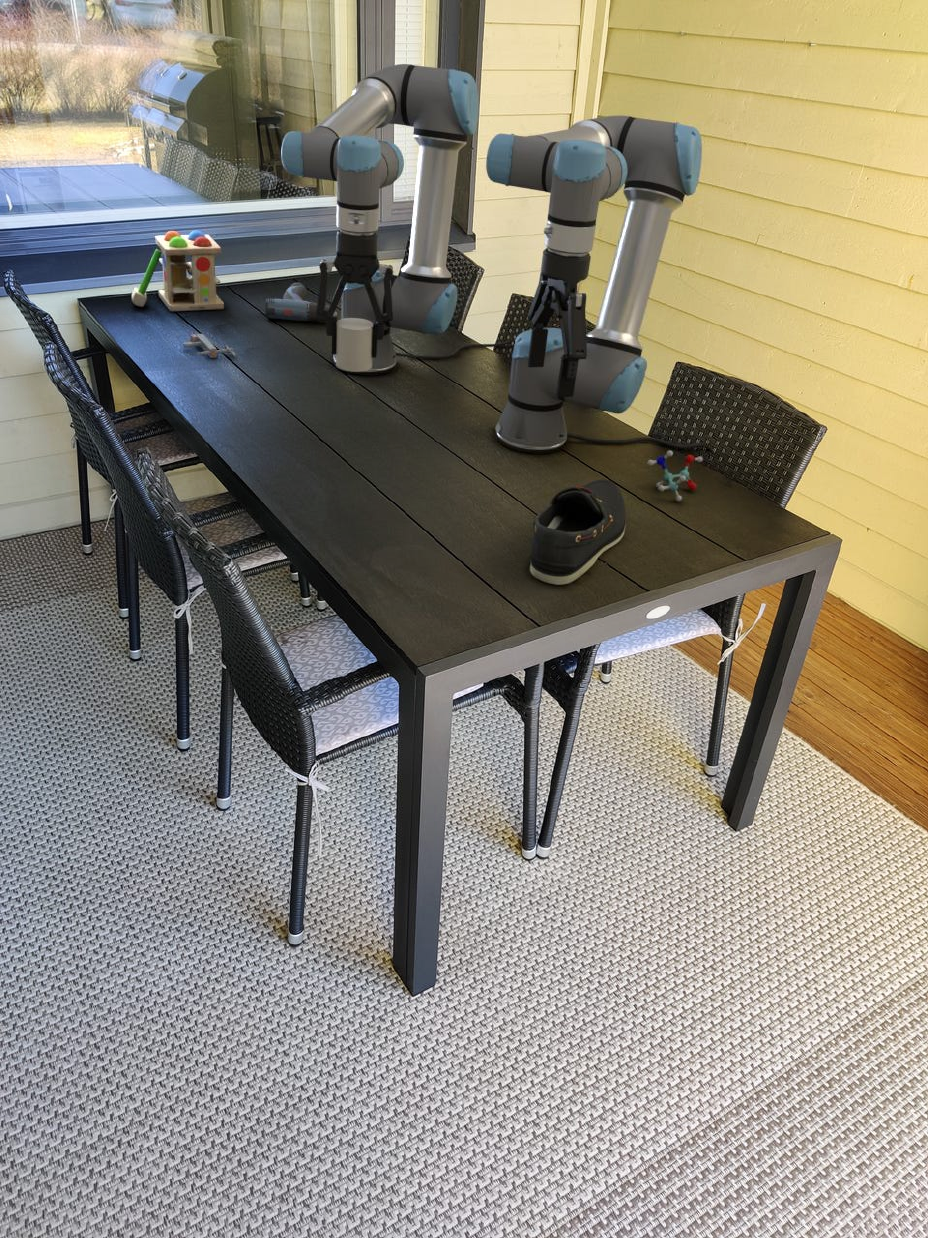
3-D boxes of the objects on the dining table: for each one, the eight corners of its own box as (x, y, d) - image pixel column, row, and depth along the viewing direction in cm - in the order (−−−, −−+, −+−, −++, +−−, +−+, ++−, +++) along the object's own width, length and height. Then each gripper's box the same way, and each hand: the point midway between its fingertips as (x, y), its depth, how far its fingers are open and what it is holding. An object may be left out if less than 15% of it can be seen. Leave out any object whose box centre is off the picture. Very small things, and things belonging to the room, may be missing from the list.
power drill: (344, 304, 276) (335, 327, 259) (277, 298, 275) (264, 321, 258) (344, 285, 273) (335, 306, 256) (277, 279, 272) (264, 300, 255)
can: (338, 371, 189) (338, 329, 185) (333, 358, 195) (334, 317, 190) (374, 371, 191) (376, 329, 186) (369, 359, 197) (370, 317, 192)
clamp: (178, 335, 238) (218, 331, 242) (178, 343, 239) (218, 340, 243) (197, 356, 227) (238, 351, 232) (197, 365, 228) (239, 360, 233)
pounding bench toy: (137, 313, 255) (129, 242, 244) (126, 297, 265) (119, 228, 255) (225, 308, 264) (221, 239, 254) (211, 293, 274) (207, 225, 264)
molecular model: (706, 495, 186) (690, 444, 184) (657, 509, 189) (642, 459, 188) (711, 487, 196) (697, 439, 195) (665, 501, 200) (651, 454, 198)
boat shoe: (648, 521, 183) (657, 470, 178) (567, 591, 159) (574, 534, 154) (587, 503, 189) (593, 452, 184) (499, 567, 165) (504, 512, 160)
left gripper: (299, 230, 175) (300, 355, 188) (411, 240, 176) (404, 364, 189) (304, 221, 181) (305, 343, 194) (412, 230, 183) (406, 351, 195)
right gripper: (518, 229, 162) (504, 355, 174) (575, 272, 142) (555, 410, 154) (560, 230, 164) (543, 354, 176) (622, 273, 145) (599, 408, 156)
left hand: (354, 353), depth 192 cm, fingers closed on can, 7 cm apart
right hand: (549, 381), depth 165 cm, fingers open, 13 cm apart
